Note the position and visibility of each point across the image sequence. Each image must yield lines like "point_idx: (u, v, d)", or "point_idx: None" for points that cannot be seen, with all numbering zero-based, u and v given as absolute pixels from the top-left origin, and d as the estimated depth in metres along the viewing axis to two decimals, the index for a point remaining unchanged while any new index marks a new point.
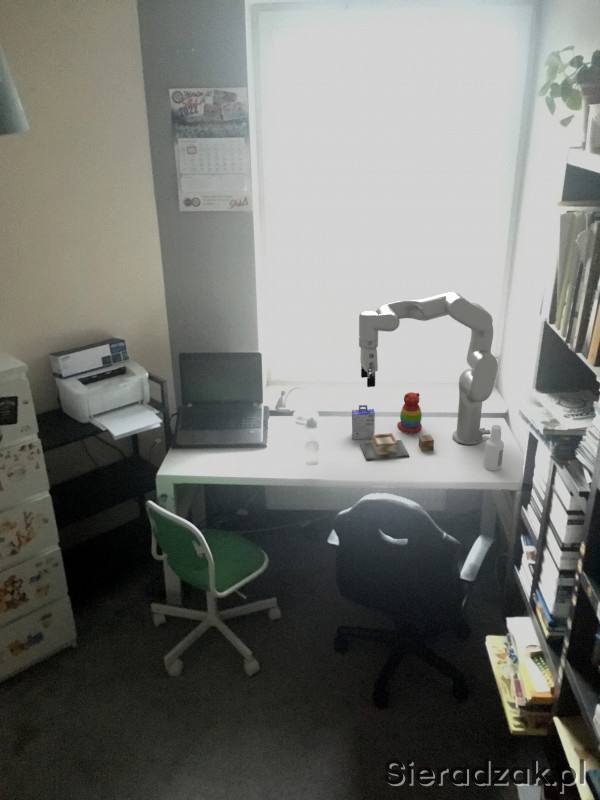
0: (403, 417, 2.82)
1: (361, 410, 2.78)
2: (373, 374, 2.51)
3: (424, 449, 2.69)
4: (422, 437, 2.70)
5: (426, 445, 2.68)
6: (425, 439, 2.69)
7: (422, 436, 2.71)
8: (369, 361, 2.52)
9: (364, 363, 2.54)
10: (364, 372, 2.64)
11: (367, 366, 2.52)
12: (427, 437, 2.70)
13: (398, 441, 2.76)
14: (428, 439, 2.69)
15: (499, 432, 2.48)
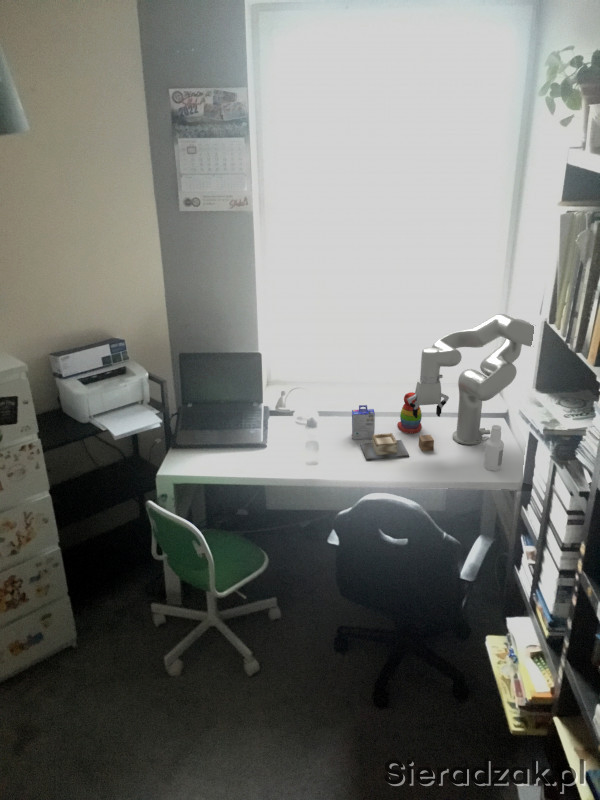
0: (403, 417, 2.82)
1: (361, 410, 2.78)
2: None
3: (424, 449, 2.69)
4: (422, 437, 2.70)
5: (426, 445, 2.68)
6: (425, 439, 2.69)
7: (422, 436, 2.71)
8: None
9: (436, 397, 2.59)
10: None
11: (440, 397, 2.60)
12: (427, 437, 2.70)
13: (398, 441, 2.76)
14: (428, 439, 2.69)
15: (499, 432, 2.48)
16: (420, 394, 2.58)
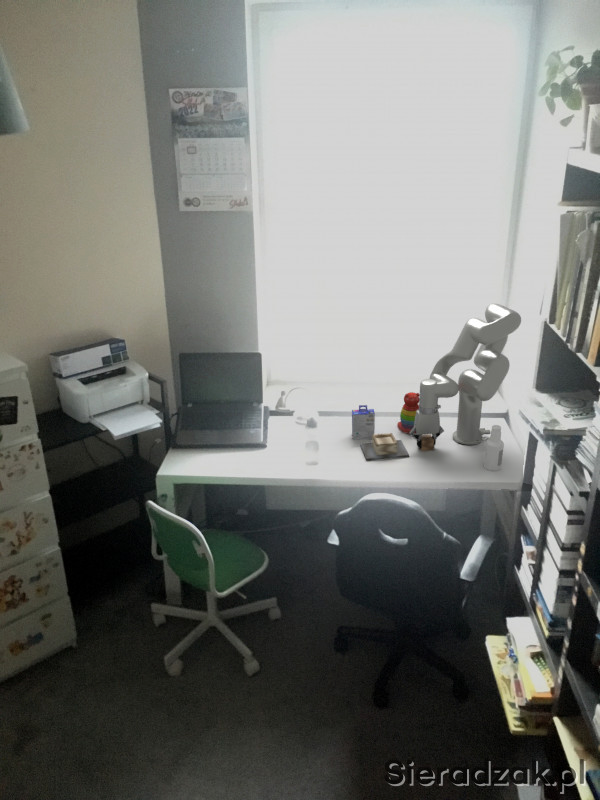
0: (403, 417, 2.82)
1: (361, 410, 2.78)
2: None
3: (424, 449, 2.69)
4: (422, 437, 2.70)
5: (426, 445, 2.68)
6: (425, 439, 2.69)
7: (422, 436, 2.71)
8: None
9: (435, 427, 2.65)
10: None
11: (439, 427, 2.66)
12: (427, 437, 2.70)
13: (398, 441, 2.76)
14: (428, 439, 2.69)
15: (499, 432, 2.48)
16: (419, 424, 2.64)
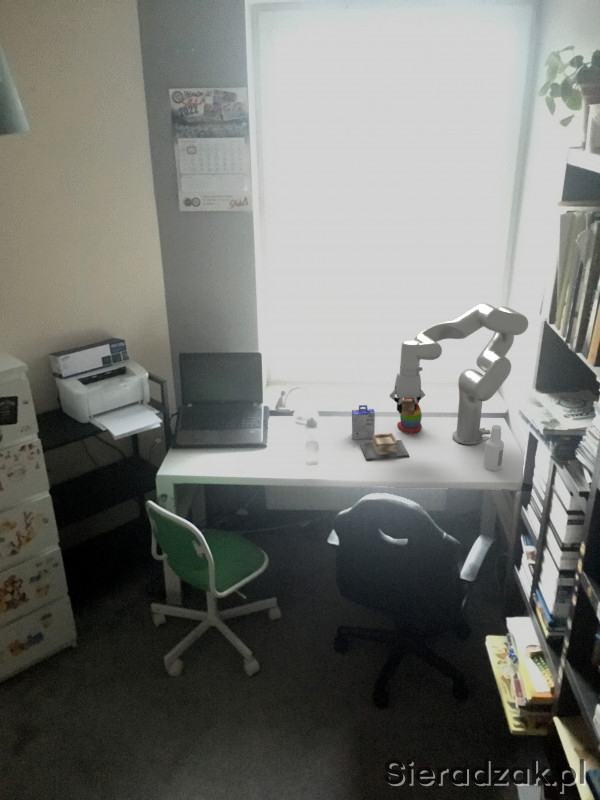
0: (403, 417, 2.82)
1: (361, 410, 2.78)
2: None
3: (404, 413, 2.61)
4: (402, 401, 2.62)
5: (406, 409, 2.60)
6: (406, 402, 2.60)
7: (402, 400, 2.63)
8: None
9: (416, 390, 2.57)
10: None
11: (420, 390, 2.58)
12: (408, 401, 2.61)
13: (398, 441, 2.76)
14: (408, 403, 2.60)
15: (499, 432, 2.48)
16: (400, 387, 2.56)
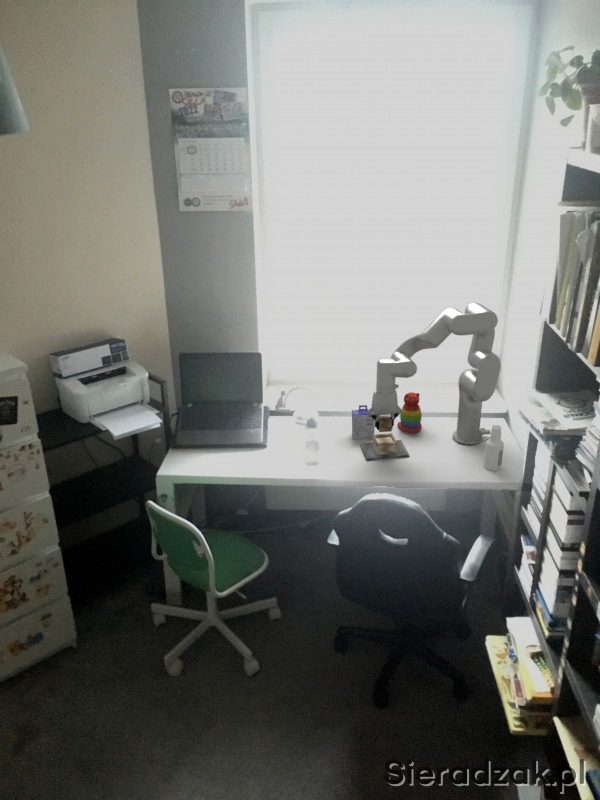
0: (403, 417, 2.82)
1: (361, 410, 2.78)
2: None
3: (382, 430, 2.63)
4: (380, 417, 2.64)
5: (384, 425, 2.63)
6: (383, 419, 2.63)
7: (380, 416, 2.65)
8: (397, 401, 2.60)
9: (392, 407, 2.60)
10: (378, 423, 2.64)
11: (397, 407, 2.61)
12: (385, 418, 2.64)
13: (398, 441, 2.76)
14: (386, 419, 2.63)
15: (499, 432, 2.48)
16: (376, 404, 2.58)
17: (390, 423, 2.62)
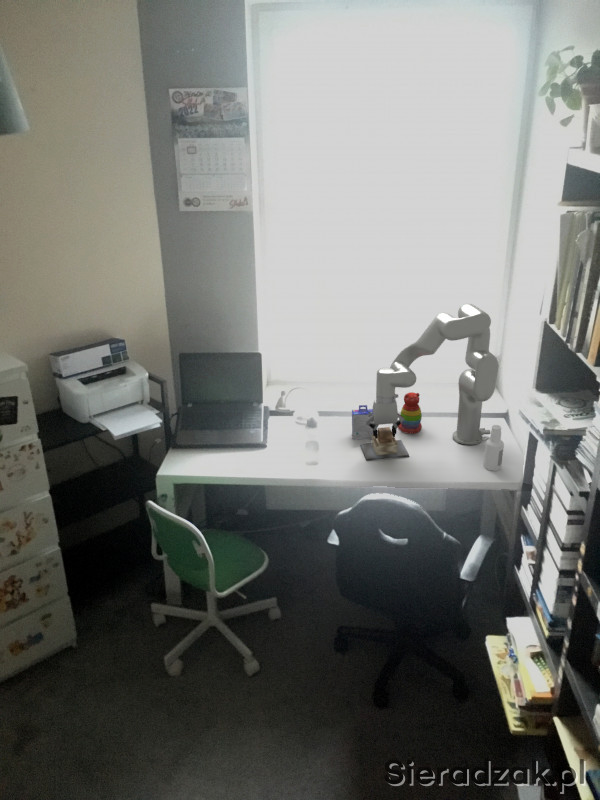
0: None
1: (361, 410, 2.78)
2: None
3: (382, 442, 2.66)
4: (380, 429, 2.67)
5: (384, 437, 2.65)
6: (383, 431, 2.65)
7: (381, 428, 2.68)
8: (397, 411, 2.62)
9: (392, 416, 2.62)
10: (376, 432, 2.66)
11: (397, 416, 2.63)
12: (385, 430, 2.66)
13: (398, 441, 2.76)
14: (386, 431, 2.65)
15: (499, 432, 2.48)
16: (376, 414, 2.60)
17: (390, 435, 2.65)
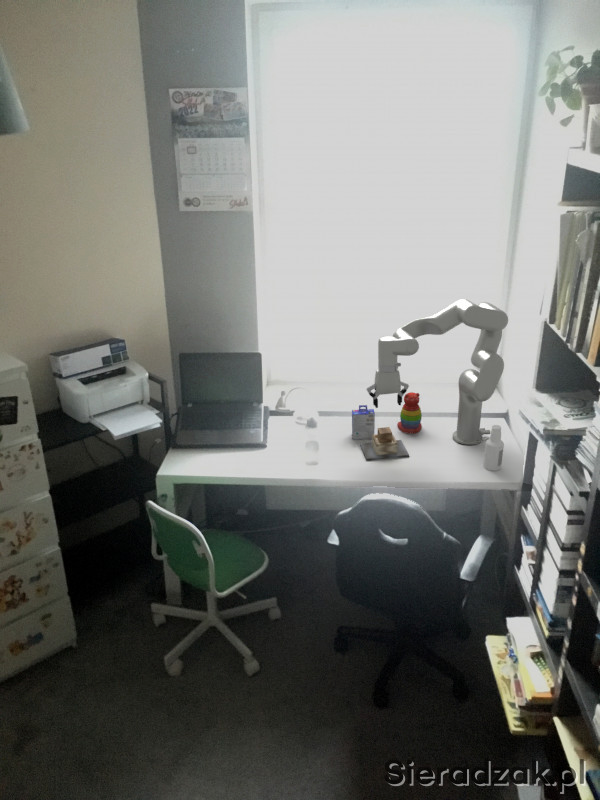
0: (403, 417, 2.82)
1: (361, 410, 2.78)
2: None
3: (382, 442, 2.66)
4: (380, 429, 2.67)
5: (384, 437, 2.65)
6: (383, 431, 2.65)
7: (381, 428, 2.68)
8: None
9: (395, 386, 2.57)
10: None
11: (400, 386, 2.58)
12: (385, 430, 2.66)
13: (398, 441, 2.76)
14: (386, 431, 2.65)
15: (499, 432, 2.48)
16: (379, 383, 2.55)
17: (390, 435, 2.65)
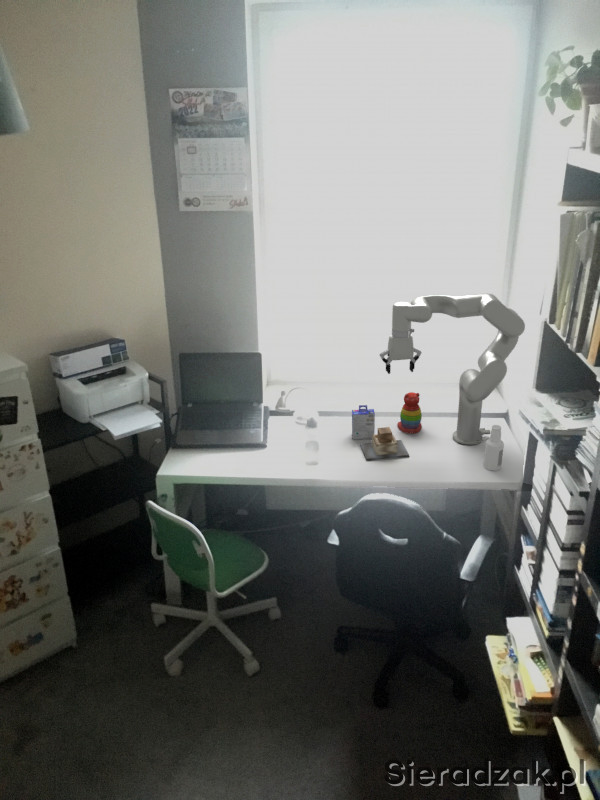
0: (403, 417, 2.82)
1: (361, 410, 2.78)
2: None
3: (382, 442, 2.66)
4: (380, 429, 2.67)
5: (384, 437, 2.65)
6: (383, 431, 2.65)
7: (381, 428, 2.68)
8: None
9: (408, 352, 2.59)
10: None
11: (413, 352, 2.60)
12: (385, 430, 2.66)
13: (398, 441, 2.76)
14: (386, 431, 2.65)
15: (499, 432, 2.48)
16: (392, 349, 2.58)
17: (390, 435, 2.65)
